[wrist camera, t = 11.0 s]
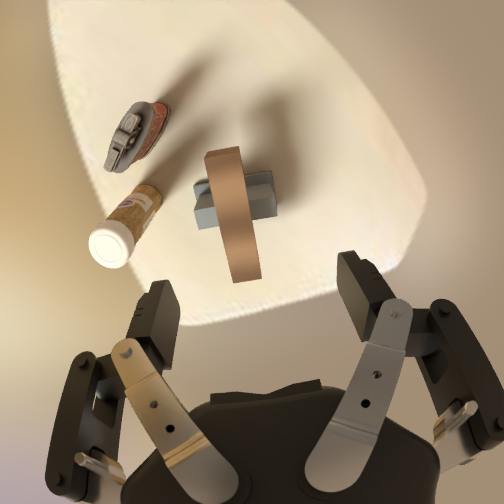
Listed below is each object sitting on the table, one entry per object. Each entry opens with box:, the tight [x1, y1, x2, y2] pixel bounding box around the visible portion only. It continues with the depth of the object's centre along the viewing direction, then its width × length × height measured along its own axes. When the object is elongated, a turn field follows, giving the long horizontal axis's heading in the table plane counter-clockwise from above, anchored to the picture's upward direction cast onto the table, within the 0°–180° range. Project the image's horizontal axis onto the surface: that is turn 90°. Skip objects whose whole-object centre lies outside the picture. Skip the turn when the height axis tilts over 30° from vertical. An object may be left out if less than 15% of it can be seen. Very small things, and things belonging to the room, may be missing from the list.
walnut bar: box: [204, 146, 262, 283], centre depth 28 cm, size 14×3×4 cm, turn 9°
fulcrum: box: [193, 171, 277, 230], centre depth 32 cm, size 5×10×6 cm, turn 99°
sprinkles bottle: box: [89, 185, 161, 268], centre depth 29 cm, size 5×5×14 cm
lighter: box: [104, 102, 171, 173], centre depth 25 cm, size 8×3×10 cm, turn 146°
